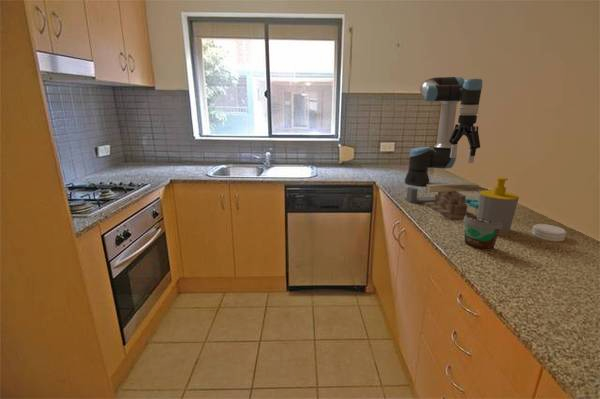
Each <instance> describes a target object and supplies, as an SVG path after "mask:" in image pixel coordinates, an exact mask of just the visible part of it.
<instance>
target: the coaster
mask: <svg viewBox="0 0 600 399" xmlns="http://www.w3.org/2000/svg"><path fill="white" fill-rule="evenodd" d="M531 234H532V235H533V236H534V237H536V238H538V239H540V240H545V241H549V242H563V241H564V240H565V239H566V238H565V237H566V234H567V231H566V229H564V228H562V227H559V226H556V225H551V224H545V223H537V224H534V225H533V226H532V230H531Z"/></svg>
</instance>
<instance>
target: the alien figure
mask: <svg viewBox="0 0 600 399" xmlns="http://www.w3.org/2000/svg"><path fill="white" fill-rule="evenodd" d="M468 203H469V204H468ZM465 204H468V206H469V207H471V208H474V209H478V204H479V199H475V198H467V197H465Z"/></svg>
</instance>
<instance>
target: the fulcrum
mask: <svg viewBox="0 0 600 399" xmlns="http://www.w3.org/2000/svg"><path fill="white" fill-rule="evenodd" d="M434 197H435V200H434V202H424V205H425V206H426V207H428V208H430V209H431V210H433V211H435V212H437V213H439V214H440V215H442V216H443V217H446V218H447V219H449V220H463V219H464V217H465V215H466V214H467V217H472V218H477V215H476V214H474V213H472V212H469V211H467V209H468V204H467V203H465V198H467V196H466V195H465V194H463V193H460V192H459V191H454V192H437V194H435V195H434Z"/></svg>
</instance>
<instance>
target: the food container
mask: <svg viewBox="0 0 600 399" xmlns="http://www.w3.org/2000/svg"><path fill="white" fill-rule="evenodd" d="M462 221H463V222H464V244H465V245H467V246H468V247H471V248H473V249H478V250H484V251H485V250H491V249H494V248H495V245H496V241H497V238H498V236H499V235H498V233H499V230H500V229H501V228H503V224H502V222H500V223H494V222H490V221H488V220H485V219H478V218H477V217H476V218H472V217H467V214H466V215H465V217H464V219H462Z"/></svg>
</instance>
